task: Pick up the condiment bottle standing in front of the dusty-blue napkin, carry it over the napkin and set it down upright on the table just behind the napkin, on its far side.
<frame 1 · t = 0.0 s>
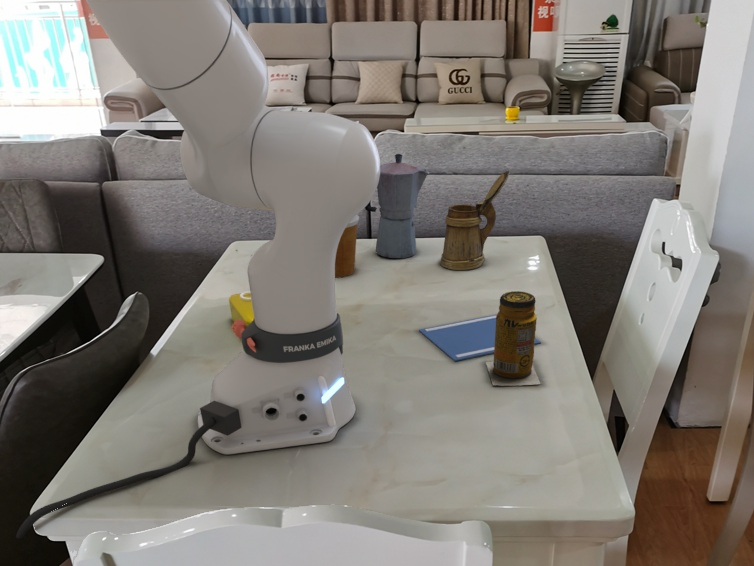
napkin: (478, 337, 133), on the table
condiment: (512, 375, 121), on the table
disposable coffee cup: (339, 273, 162), on the table
wooden mug: (472, 264, 164), on the table
element tile: (281, 325, 140), on the table
moka pot: (394, 254, 171), on the table
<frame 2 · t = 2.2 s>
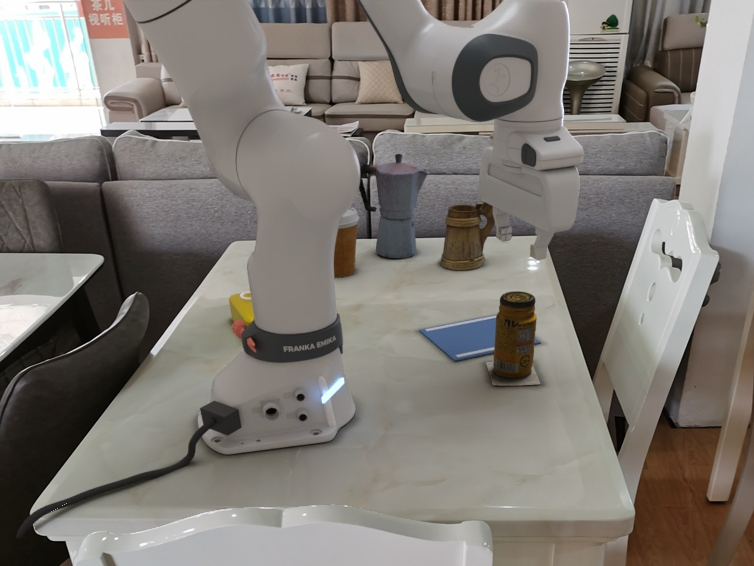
hand: (520, 248, 110), 19 cm above the table, tool pointing down, fingers open, 8 cm apart
nothing on the table moved.
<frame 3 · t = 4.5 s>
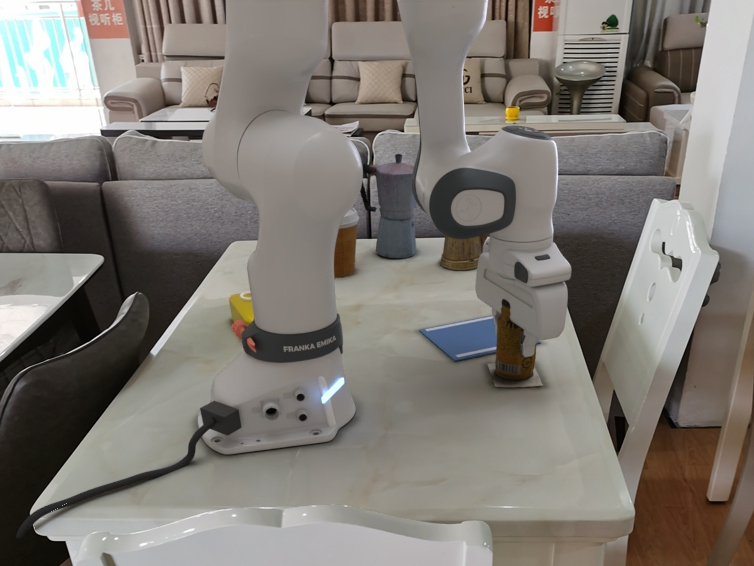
hand: (514, 346, 119), 5 cm above the table, tool pointing down, fingers closed on condiment, 6 cm apart
condiment: (514, 376, 121), on the table, touching gripper
everything else where it was.
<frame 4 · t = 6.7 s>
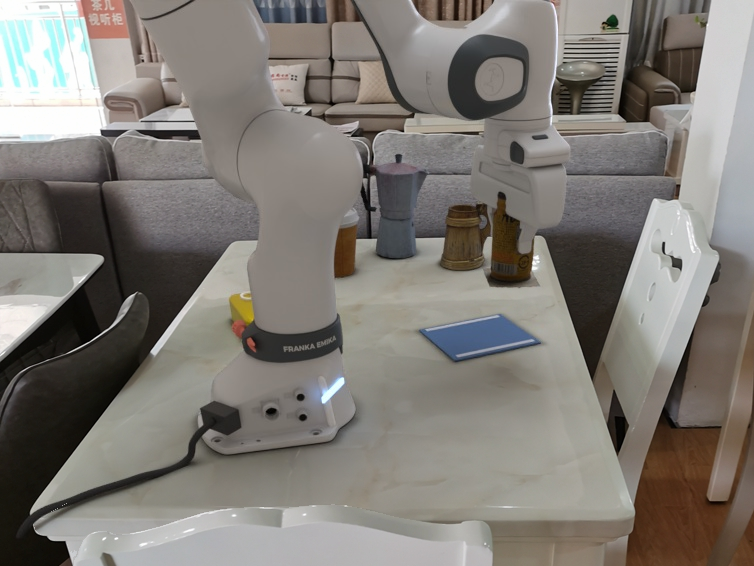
hand: (510, 245, 112), 19 cm above the table, tool pointing down, fingers closed on condiment, 6 cm apart
condiment: (510, 279, 114), point 14 cm above the table, touching gripper
everything else where it was.
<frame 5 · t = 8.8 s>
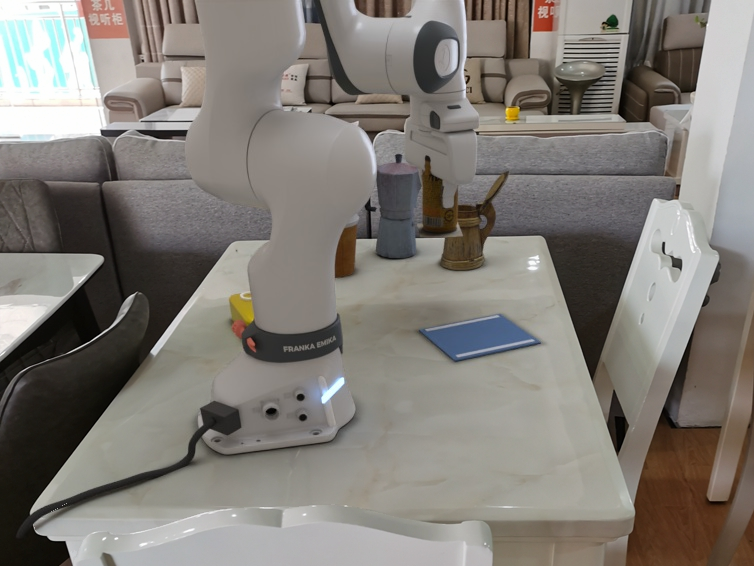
hand: (437, 202, 132), 19 cm above the table, tool pointing down, fingers closed on condiment, 6 cm apart
condiment: (439, 232, 134), point 14 cm above the table, touching gripper
everything else where it was.
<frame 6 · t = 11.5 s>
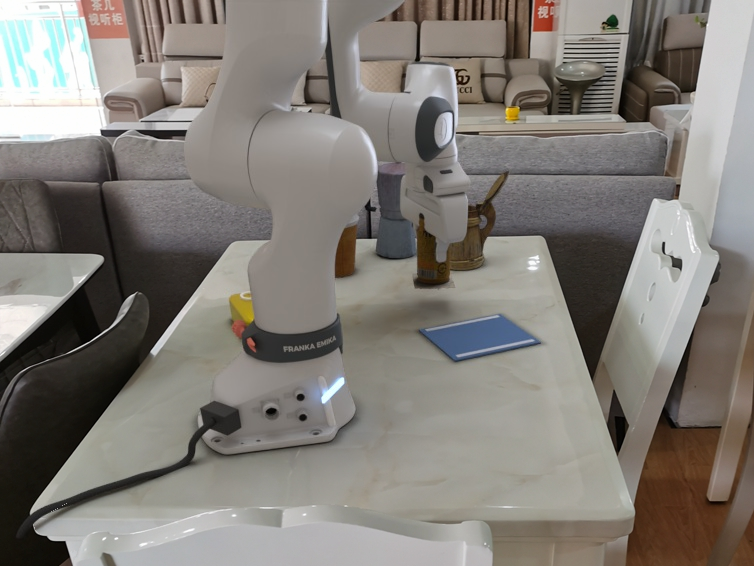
hand: (431, 255, 140), 9 cm above the table, tool pointing down, fingers closed on condiment, 6 cm apart
condiment: (433, 282, 142), point 5 cm above the table, touching gripper
everything else where it was.
when the fingers open (4 cm above the table, at t = 13.4 s): condiment stays where it is, on the table.
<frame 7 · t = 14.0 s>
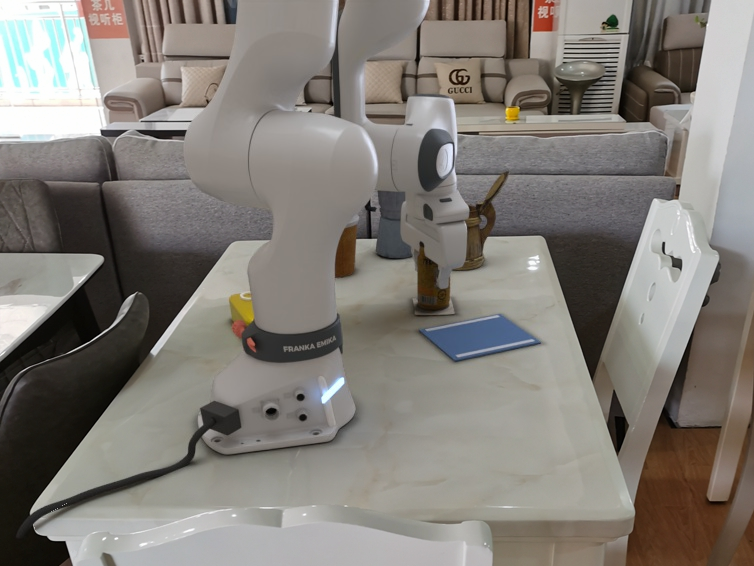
hand: (431, 279, 142), 5 cm above the table, tool pointing down, fingers open, 8 cm apart
condiment: (433, 308, 145), on the table
everything else where it was.
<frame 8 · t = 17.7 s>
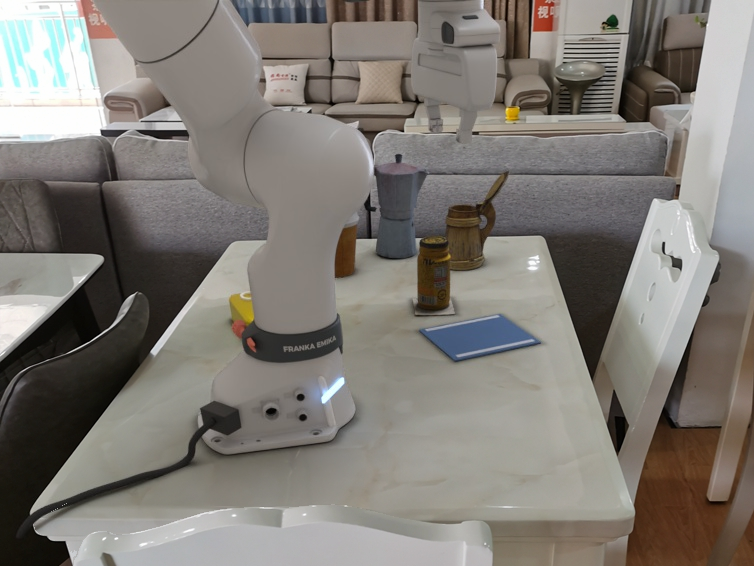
hand: (449, 137, 114), 31 cm above the table, tool pointing down, fingers open, 8 cm apart
nothing on the table moved.
at the end: condiment inside the target area (1.6 cm from its centre), on the table; condiment tilted 0°; condiment touching table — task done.
